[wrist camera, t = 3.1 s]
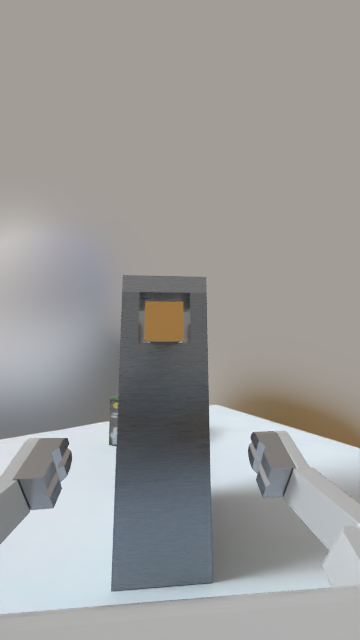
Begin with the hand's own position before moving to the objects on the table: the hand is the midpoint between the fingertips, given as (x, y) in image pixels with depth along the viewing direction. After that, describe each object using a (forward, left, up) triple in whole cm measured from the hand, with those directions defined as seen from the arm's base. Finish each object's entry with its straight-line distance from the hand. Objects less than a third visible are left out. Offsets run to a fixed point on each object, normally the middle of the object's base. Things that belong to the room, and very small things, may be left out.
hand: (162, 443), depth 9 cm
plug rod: (0, +15, +5) cm, 16 cm away
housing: (0, +20, -19) cm, 28 cm away
